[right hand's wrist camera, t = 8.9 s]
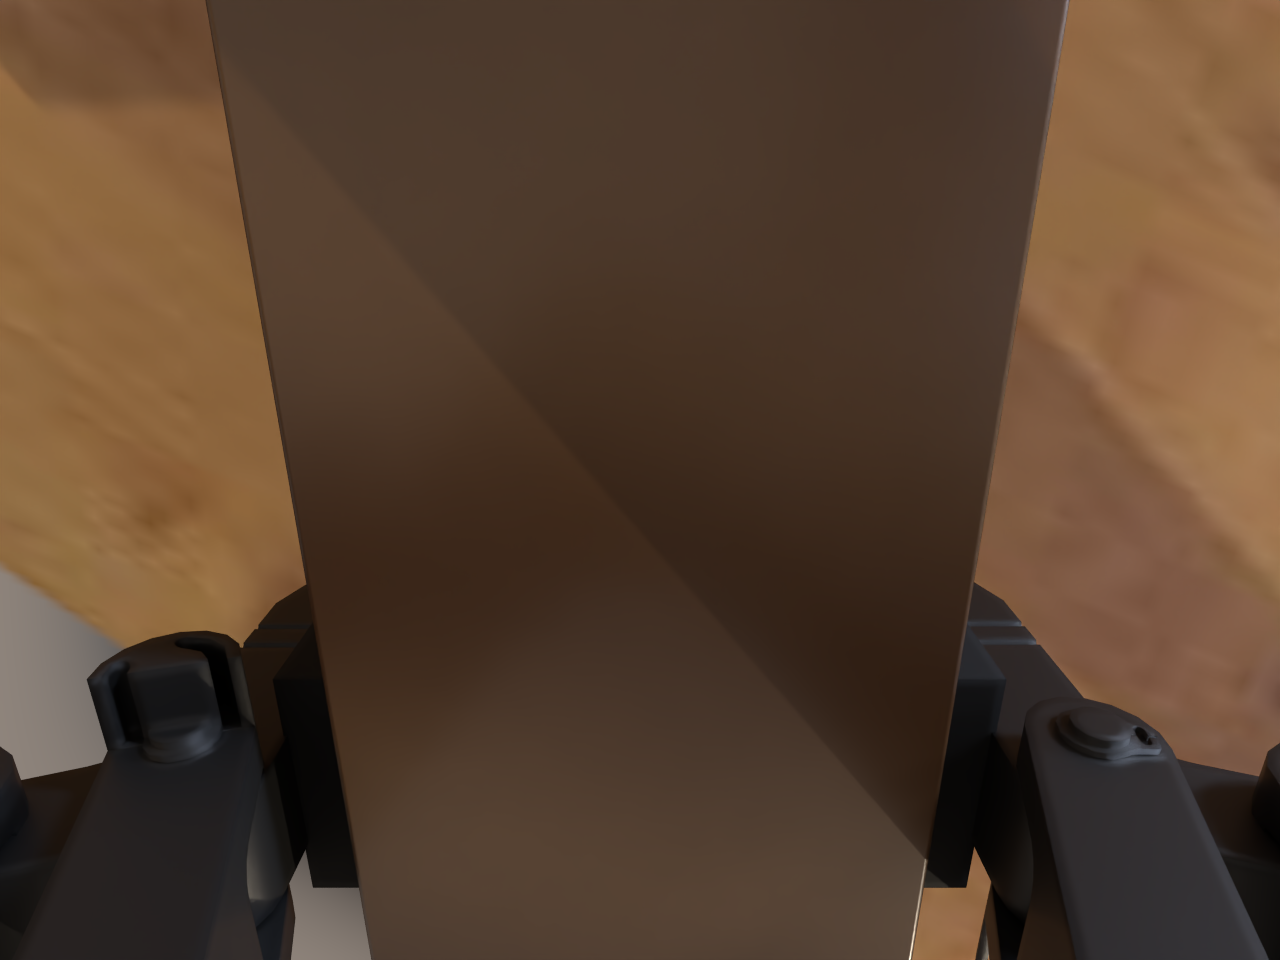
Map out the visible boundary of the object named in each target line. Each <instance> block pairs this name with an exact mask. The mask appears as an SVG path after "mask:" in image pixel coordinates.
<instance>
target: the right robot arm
mask: <svg viewBox="0 0 1280 960" xmlns="http://www.w3.org/2000/svg"><path fill="white" fill-rule="evenodd" d="M258 626H259V627H258V629H255V630H254V631H253V632H252V633H251V635H250V636H249V637H248V638H247V640H246V641H245V642H244V647H243V648H240V646H239V643H237V642H236V641H235V640H233V639H232V638H231V637H229V636H228V635H226V634H220V633H215V632H210V631H192V632H178V633H174V634H169V635H165V636H160V637H156V638H152V639H149V640H146V641H144V642H141V643H139V644H136V645H134V646H131V647H129V648H126V649H124V650H122V651H121V652H119V653H117V654H116V655H114V656H112V657H111V658H109V659H108V660H106V661H105V662H103V663H101V664H100V665H99V666H98V668H97V669H96V670H95V671H94V672H93V673H92V674H91V675H90V676H89V677H88V679H87V682H88V685H89V689H90V692H91V696H92V699H93V702H94V706H95V709H96V713H97V716H98V719H99V723H100V726H101V730H102V733H103V736H104V740H105V743H106V747H107V750H108V752H107V754H106V756H105V758H104V760H103V762H102V763H99V764H95V765H92V766H88V767H83V768H78V769H74V770H68V771H64V772H59V773H54V774H49V775H44V776H39V777H34V778H30V779H25V780H21V779H20V776H19V773H18V770H17V768H16V765H15V762H14V759H13V756H12V755H11V754H10V753H8V752H7V751H5V750H4V749H3V748H1V747H0V960H291V952H292V944H293V934H294V925H295V912H294V906H293V900H292V895H291V890H290V885H289V882H290V880H291V878H292V876H293V874H294V872H295V870H296V868H297V866H298V864H299V862H300V860H301V858H302V856H303V853H304V851H305V849H306V854H307V859H308V864H309V869H310V874H311V880H312V885H313V888H359V884H358V879H357V873H356V867H355V861H354V856H353V850H352V844H351V838H350V832H349V827H348V821H347V815H346V809H345V804H344V798H343V792H342V786H341V780H340V775H339V769H338V763H337V757H336V751H335V746H334V740H333V734H332V728H331V723H330V717H329V711H328V705H327V699H326V694H325V688H324V682H323V676H322V671H321V665H320V659H319V653H318V647H317V642H316V636H315V630H314V624H313V619H312V613H311V607H310V601H309V595H308V590H307V585H305V586H303V587H301V588H300V589H298V590H297V591H295V592H293V593H292V594H290V595H289V596H287V597H285V598H284V599H282V600H281V601H279V602H277V603H276V604H275V605H274V607H273V608H272V609H271V610H270V611H269V613H268V614H267V615H266V616H265V618H264V619H263V620H262V621H261V622H260V624H259V625H258ZM974 847H975V849H976V851H977V853H978V855H979V857H980V859H981V861H982V863H983V865H984V868H985V870H986V872H987V874H988V876H989V878H990V880H991V885H990V890H989V895H988V900H987V905H986V909H985V914H984V919H983V924H982V928H981V933H980V938H979V943H978V948H977V953H976V959H975V960H988V956H989V959H990V960H1280V743H1279V744H1278V745H1276V746H1275V747H1274V748H1272V749H1271V750H1269V751H1268V753H1267V756H1266V759H1265V762H1264V765H1263V767H1262V770H1261V773H1260V776H1259V777H1258V776H1253V775H1249V774H1244V773H1239V772H1234V771H1229V770H1224V769H1219V768H1214V767H1209V766H1204V765H1199V764H1195V763H1190V762H1187V761H1183V760H1179V759H1176V757H1175V754H1174V752H1173V750H1172V749H1171V747H1170V746H1169V745H1168V744H1167V742H1166V741H1165V740H1164V738H1163V737H1162V736H1161V734H1160V733H1159V732H1158V731H1156V730H1155V729H1153V728H1152V727H1151V726H1149V725H1148V724H1146V723H1145V722H1144V721H1142V720H1141V719H1140V718H1138V717H1136V716H1134V715H1132V714H1130V713H1127V712H1125V711H1123V710H1121V709H1119V708H1116V707H1114V706H1112V705H1109V704H1105V703H1101V702H1097V701H1093V700H1089V699H1085V698H1083V697H1082V695H1081V694H1080V693H1079V692H1078V690H1077V689H1076V688H1075V687H1074V686H1073V684H1072V683H1071V682H1070V681H1069V680H1068V678H1067V677H1066V676H1065V675H1064V673H1063V672H1062V671H1061V670H1060V669H1059V667H1058V666H1057V665H1056V664H1055V663H1054V661H1053V660H1052V659H1051V658H1050V656H1049V655H1048V654H1047V653H1046V652H1045V650H1044V649H1043V648H1042V647H1041V646H1040V645H1036V639H1035V638H1034V637H1033V636H1032V635H1031V633H1030V632H1029V631H1028V630H1027V629H1026V627H1025V626H1021V621H1020V620H1019V619H1018V618H1017V616H1016V615H1015V614H1014V613H1013V612H1012V610H1011V609H1010V608H1009V607H1008V605H1007V604H1006V603H1005V602H1004V601H1003V600H1002V599H1000V598H999V597H997V596H995V595H994V594H992V593H990V592H989V591H987V590H986V589H984V588H982V587H981V586H979V585H977V584H976V583H974V584H973V591H972V597H971V603H970V609H969V615H968V621H967V627H966V633H965V639H964V645H963V651H962V657H961V664H960V670H959V676H958V682H957V688H956V694H955V700H954V706H953V712H952V718H951V724H950V730H949V737H948V743H947V749H946V755H945V761H944V767H943V773H942V779H941V785H940V791H939V797H938V803H937V810H936V816H935V822H934V828H933V834H932V840H931V846H930V852H929V858H928V864H927V870H926V876H925V883H924V888H966V886H967V881H968V876H969V871H970V865H971V860H972V855H973V850H974Z"/></svg>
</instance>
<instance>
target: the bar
mask: <svg viewBox="0 0 1280 960" xmlns="http://www.w3.org/2000/svg"><path fill="white" fill-rule="evenodd" d="M206 6H207V12H208V17H209V23H210V29H211V35H212V40H213V46H214V52H215V58H216V64H217V69H218V75H219V81H220V87H221V92H222V98H223V104H224V110H225V116H226V121H227V127H228V133H229V139H230V144H231V150H232V156H233V162H234V168H235V173H236V179H237V185H238V191H239V197H240V202H241V208H242V214H243V220H244V225H245V231H246V237H247V243H248V249H249V254H250V260H251V266H252V272H253V277H254V283H255V289H256V295H257V301H258V306H259V312H260V318H261V324H262V329H263V335H264V341H265V347H266V353H267V358H268V364H269V370H270V376H271V381H272V387H273V393H274V399H275V405H276V410H277V416H278V422H279V428H280V434H281V439H282V445H283V451H284V457H285V462H286V468H287V474H288V480H289V486H290V491H291V497H292V503H293V509H294V514H295V520H296V526H297V532H298V538H299V543H300V549H301V555H302V561H303V566H304V572H305V578H306V584H307V590H308V595H309V601H310V607H311V613H312V619H313V624H314V630H315V636H316V642H317V647H318V653H319V659H320V665H321V671H322V676H323V682H324V688H325V694H326V699H327V705H328V711H329V717H330V723H331V728H332V734H333V740H334V746H335V751H336V757H337V763H338V769H339V775H340V780H341V786H342V792H343V798H344V804H345V809H346V815H347V821H348V827H349V832H350V838H351V844H352V850H353V856H354V861H355V867H356V873H357V879H358V884H359V890H360V896H361V902H362V908H363V913H364V919H365V925H366V931H367V936H368V942H369V948H370V954H371V959H372V960H912V956H913V949H914V943H915V937H916V931H917V925H918V919H919V913H920V907H921V901H922V895H923V889H924V883H925V876H926V870H927V864H928V858H929V852H930V846H931V840H932V834H933V828H934V822H935V816H936V810H937V803H938V797H939V791H940V785H941V779H942V773H943V767H944V761H945V755H946V749H947V743H948V737H949V730H950V724H951V718H952V712H953V706H954V700H955V694H956V688H957V682H958V676H959V670H960V664H961V657H962V651H963V645H964V639H965V633H966V627H967V621H968V615H969V609H970V603H971V597H972V591H973V584H974V578H975V572H976V566H977V560H978V554H979V548H980V542H981V536H982V530H983V524H984V518H985V511H986V505H987V499H988V493H989V487H990V481H991V475H992V469H993V463H994V457H995V451H996V445H997V438H998V432H999V426H1000V420H1001V414H1002V408H1003V402H1004V396H1005V390H1006V384H1007V378H1008V372H1009V365H1010V359H1011V353H1012V347H1013V341H1014V335H1015V329H1016V323H1017V317H1018V311H1019V305H1020V299H1021V292H1022V286H1023V280H1024V274H1025V268H1026V262H1027V256H1028V250H1029V244H1030V238H1031V232H1032V226H1033V219H1034V213H1035V207H1036V201H1037V195H1038V189H1039V183H1040V177H1041V171H1042V165H1043V159H1044V153H1045V146H1046V140H1047V134H1048V128H1049V122H1050V116H1051V110H1052V104H1053V98H1054V92H1055V86H1056V80H1057V73H1058V67H1059V61H1060V55H1061V49H1062V43H1063V37H1064V31H1065V25H1066V19H1067V13H1068V7H1069V0H206Z"/></svg>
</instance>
